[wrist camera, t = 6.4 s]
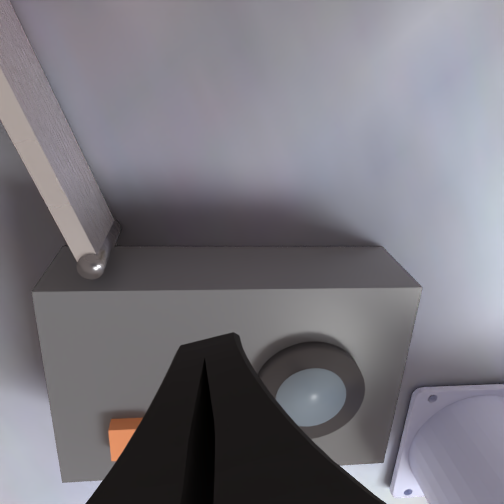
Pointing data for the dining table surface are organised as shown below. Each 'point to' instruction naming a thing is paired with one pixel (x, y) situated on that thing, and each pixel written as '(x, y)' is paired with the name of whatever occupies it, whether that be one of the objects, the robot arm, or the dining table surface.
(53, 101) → the side door
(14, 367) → the dining table surface
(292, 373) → the camera case
